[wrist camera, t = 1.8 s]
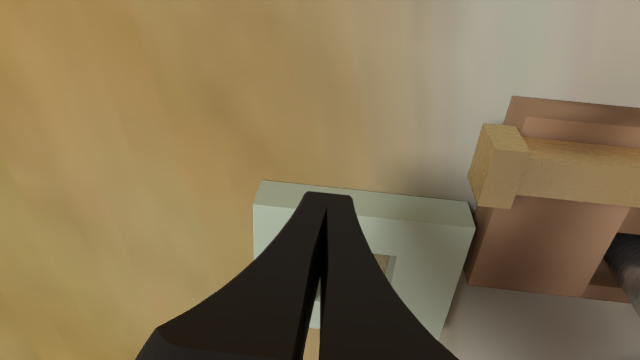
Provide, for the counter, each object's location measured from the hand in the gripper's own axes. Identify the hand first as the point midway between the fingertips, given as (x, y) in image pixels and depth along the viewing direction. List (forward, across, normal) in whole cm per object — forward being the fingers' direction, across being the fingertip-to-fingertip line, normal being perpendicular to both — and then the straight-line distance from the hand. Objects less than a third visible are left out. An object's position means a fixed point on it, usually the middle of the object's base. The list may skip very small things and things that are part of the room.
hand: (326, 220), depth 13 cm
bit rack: (+8, -2, +8) cm, 11 cm away
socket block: (+8, -12, +3) cm, 15 cm away
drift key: (+5, -9, 0) cm, 10 cm away
